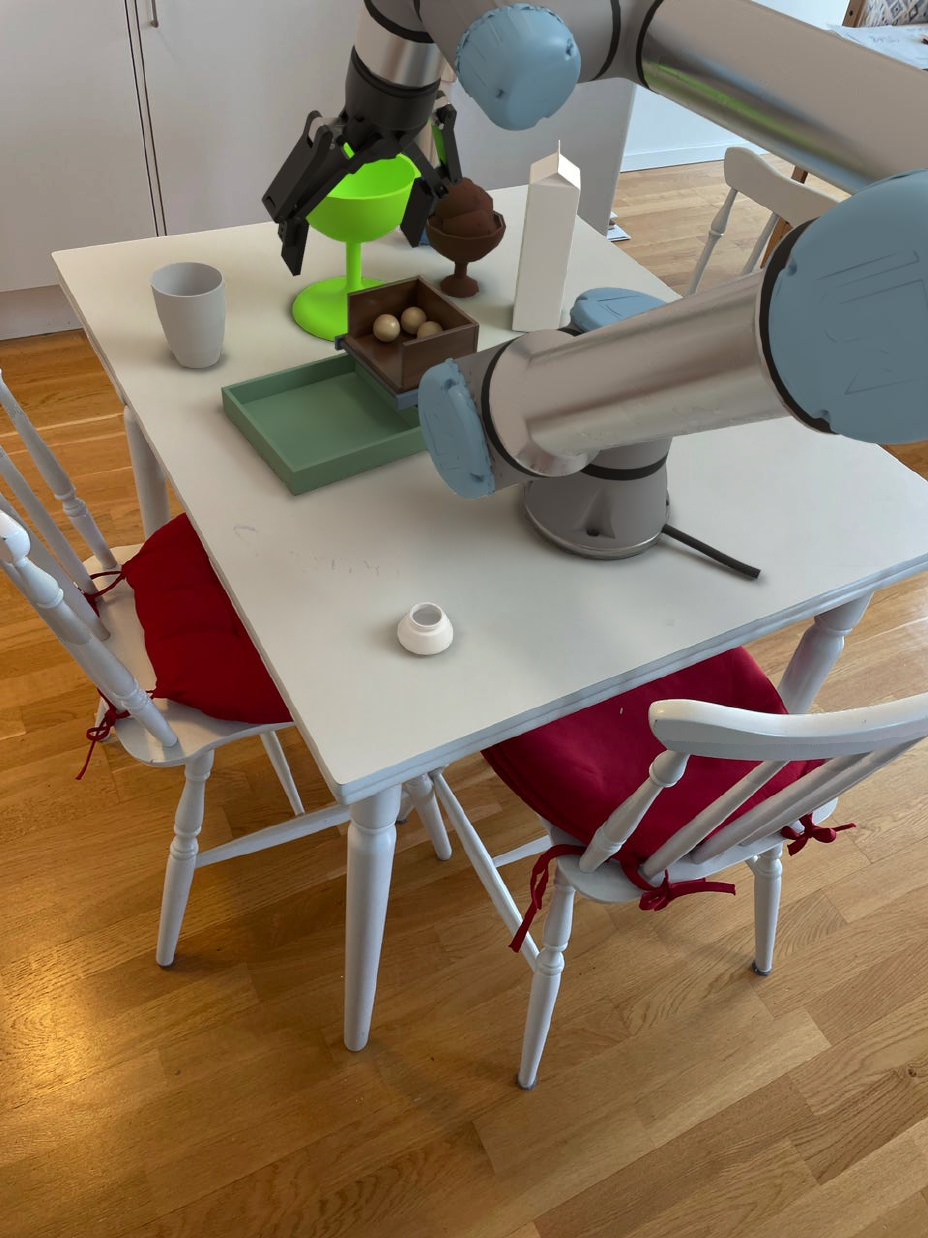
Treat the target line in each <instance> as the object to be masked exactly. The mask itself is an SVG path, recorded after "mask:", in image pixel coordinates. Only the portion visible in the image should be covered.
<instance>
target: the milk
mask: <svg viewBox="0 0 928 1238" xmlns="http://www.w3.org/2000/svg"><path fill="white" fill-rule="evenodd" d="M528 179H529V180H528V185H527V186H528V187H527V193H526V203H525V209H524V219H523V225H522V226H523V227H522V234H521V244H520V251H519V252H520V253H519V259H518V268H517V277H516V284H515V293H514V300H513V301H514V302H513V311H512V324H511V325H512V326H511V330H512V331H516V332H526V333H529V332H532V331H536V330H543V329H553V330H556V329H559V328H560V327H559V325H560V320H561V314H562V307H563V301H564V295H565V289H566V282H567V277H568V269H569V264H570V257H571V251H572V246H573V240H574V233H575V228H576V221H577V215H578V208H579V202H580V197H581V188H582V187H581V169H580V168H579V167H577V166H576V164H574V163H573V162H571V161H570V160H569V159H567V158H566V157H565V156H564V155H562V154H561V140H560V139H558V143H557V150H556V152H554V153H552V154H550V155H548V156H546V157H543V158H542V159H539V160H537V161H534V162H533V163H531V164H530V169H529V177H528Z"/></svg>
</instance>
